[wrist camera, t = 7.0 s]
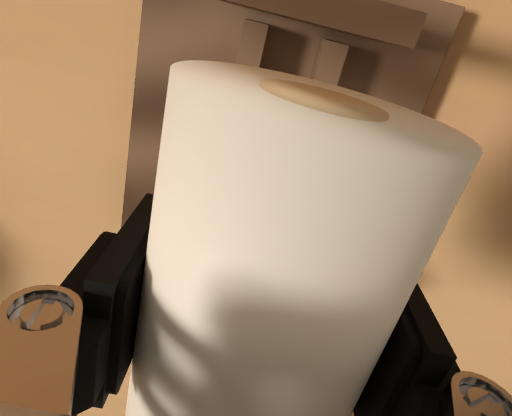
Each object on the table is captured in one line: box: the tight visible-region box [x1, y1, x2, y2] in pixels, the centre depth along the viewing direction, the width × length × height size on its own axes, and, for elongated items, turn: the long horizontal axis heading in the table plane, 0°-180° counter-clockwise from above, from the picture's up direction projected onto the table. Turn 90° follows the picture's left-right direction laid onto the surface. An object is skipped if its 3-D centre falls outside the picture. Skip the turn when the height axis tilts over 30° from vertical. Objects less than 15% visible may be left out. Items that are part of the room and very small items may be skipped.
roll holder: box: [121, 0, 465, 228], centre depth 21 cm, size 18×16×8 cm
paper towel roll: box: [125, 60, 483, 416], centre depth 9 cm, size 10×6×6 cm, turn 167°
